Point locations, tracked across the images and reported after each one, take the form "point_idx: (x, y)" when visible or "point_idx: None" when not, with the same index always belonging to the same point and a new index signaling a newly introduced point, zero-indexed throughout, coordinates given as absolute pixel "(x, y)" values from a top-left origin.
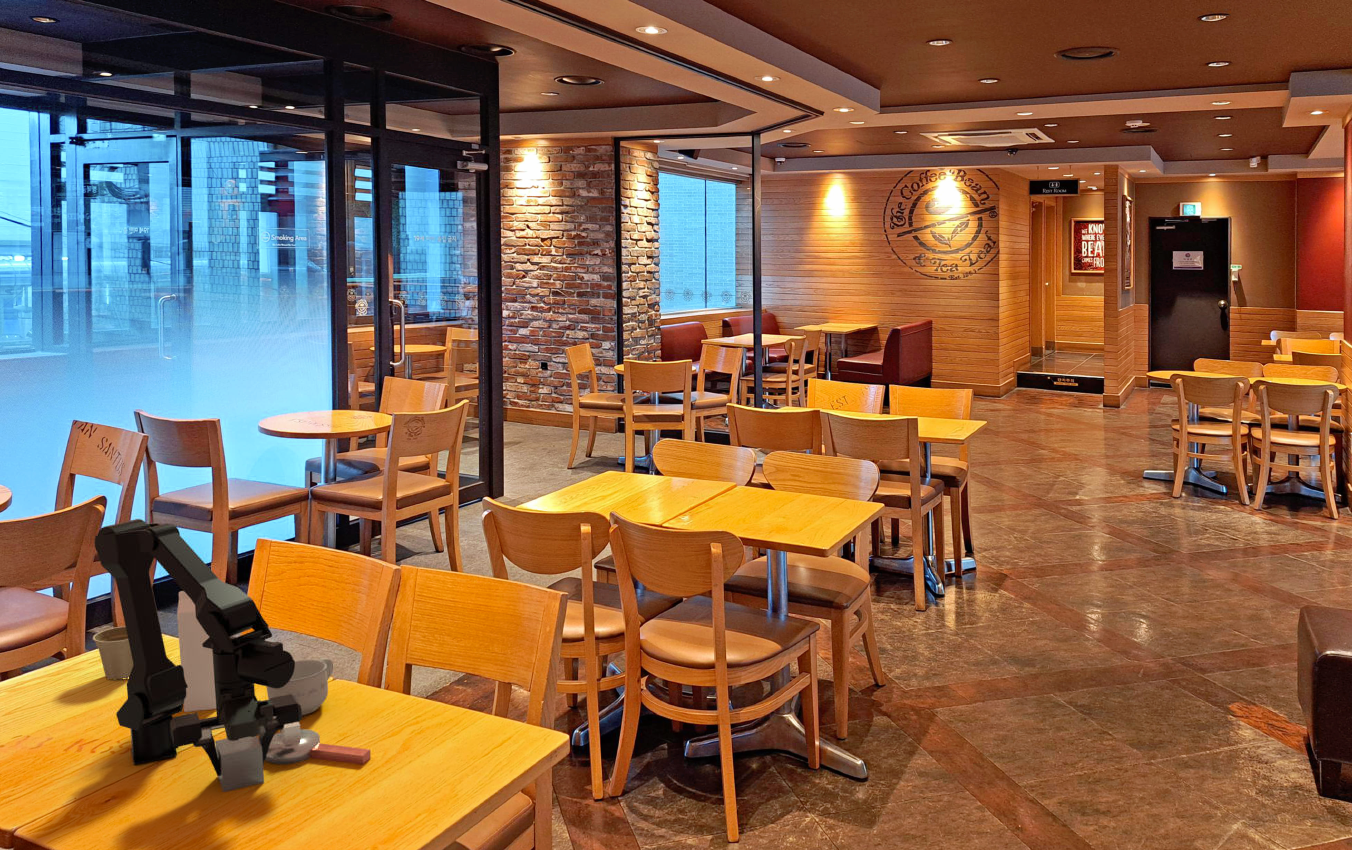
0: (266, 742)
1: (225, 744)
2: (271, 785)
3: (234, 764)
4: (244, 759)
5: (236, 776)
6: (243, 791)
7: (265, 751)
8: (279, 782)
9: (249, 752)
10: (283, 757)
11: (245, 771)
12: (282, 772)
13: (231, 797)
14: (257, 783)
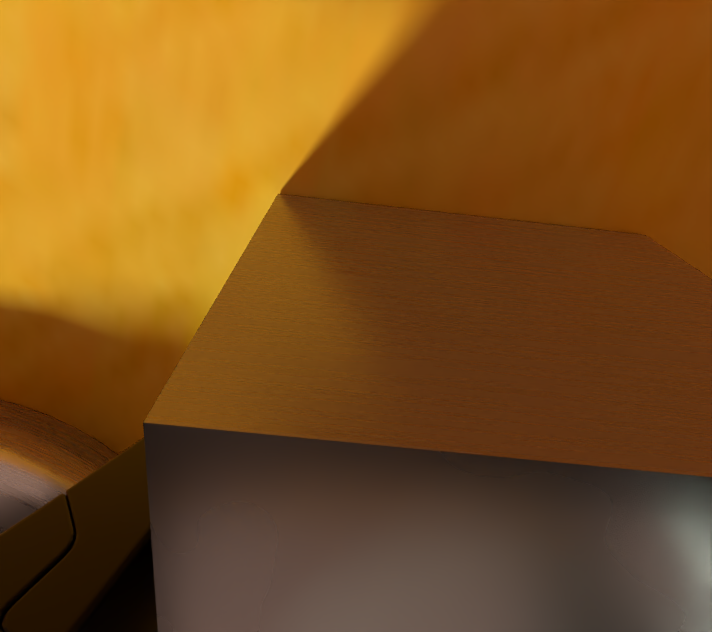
0: (40, 564)
1: None
2: (228, 81)
3: (647, 341)
4: (506, 350)
5: (562, 266)
6: (499, 127)
7: (141, 460)
8: (142, 99)
9: (432, 399)
10: (34, 464)
11: (466, 268)
12: (91, 292)
13: (645, 64)
14: (339, 203)
